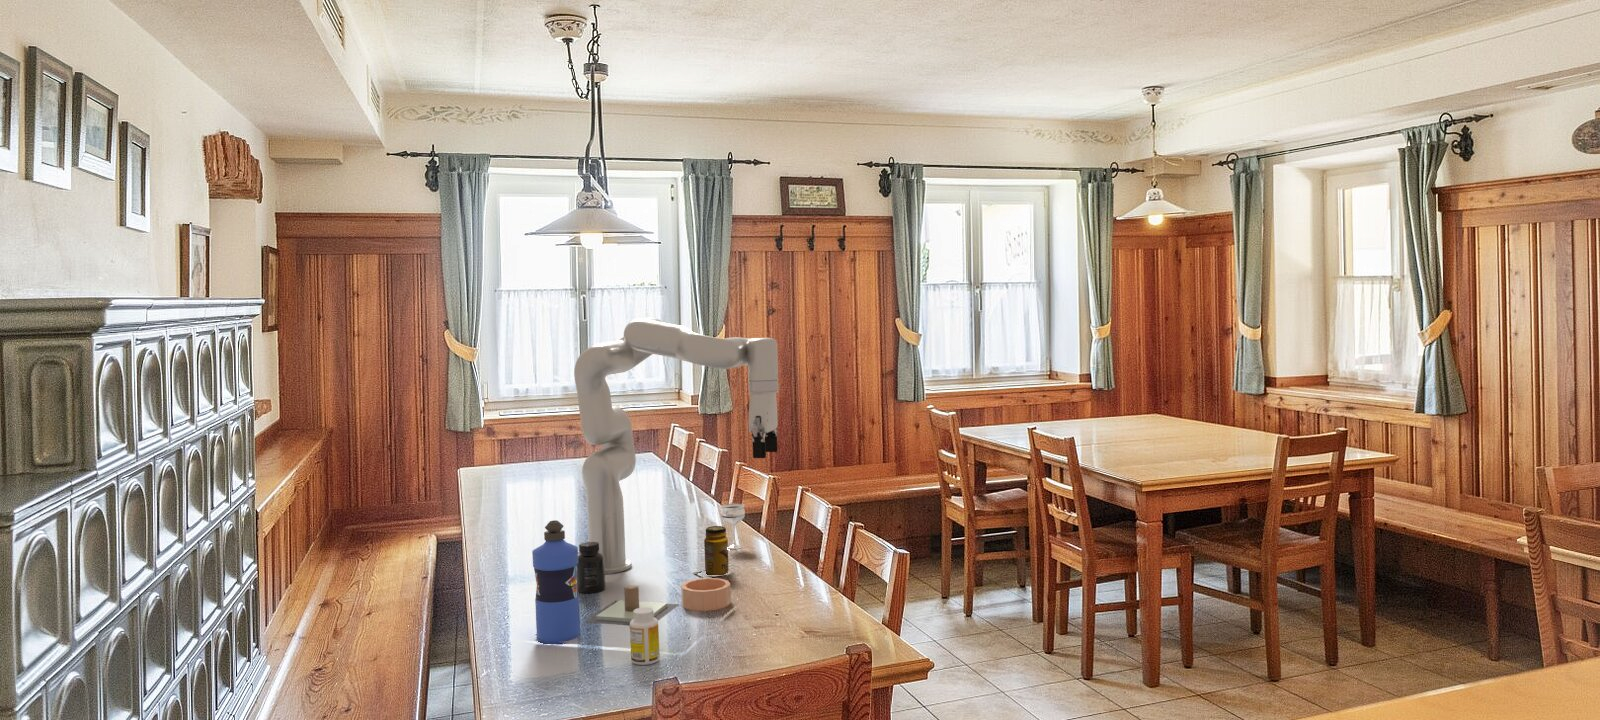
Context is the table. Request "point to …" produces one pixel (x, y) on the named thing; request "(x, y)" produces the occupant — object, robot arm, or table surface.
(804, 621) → the table surface
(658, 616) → the mat
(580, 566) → the supplement bottle
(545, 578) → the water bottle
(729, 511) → the wineglass
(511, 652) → the table surface
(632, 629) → the supplement bottle
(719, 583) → the bowl
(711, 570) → the condiment
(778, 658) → the table surface
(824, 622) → the table surface
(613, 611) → the lid
